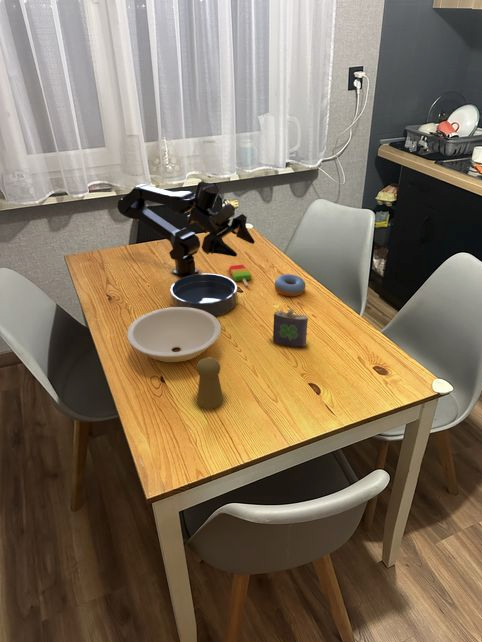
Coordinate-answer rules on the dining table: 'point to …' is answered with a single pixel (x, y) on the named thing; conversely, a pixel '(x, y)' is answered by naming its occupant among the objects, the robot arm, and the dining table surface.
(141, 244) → the dining table surface
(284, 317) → the flask
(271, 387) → the dining table surface
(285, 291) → the doughnut
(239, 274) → the popsicle
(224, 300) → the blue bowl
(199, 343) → the grey bowl
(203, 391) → the brown game pawn
